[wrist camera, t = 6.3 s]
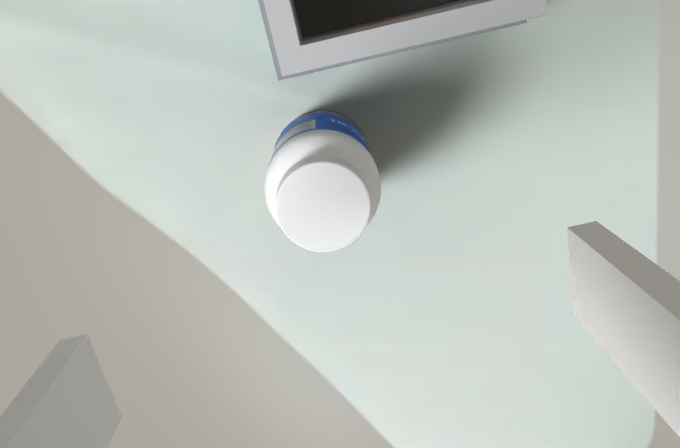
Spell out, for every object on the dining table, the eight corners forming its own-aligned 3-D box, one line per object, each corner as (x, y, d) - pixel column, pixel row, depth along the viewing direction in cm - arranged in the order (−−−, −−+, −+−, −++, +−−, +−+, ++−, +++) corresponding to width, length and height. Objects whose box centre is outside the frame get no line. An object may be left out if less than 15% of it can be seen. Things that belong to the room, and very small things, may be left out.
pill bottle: (387, 165, 34) (416, 222, 24) (313, 219, 34) (314, 294, 25) (329, 88, 32) (337, 118, 23) (254, 147, 33) (231, 199, 24)
